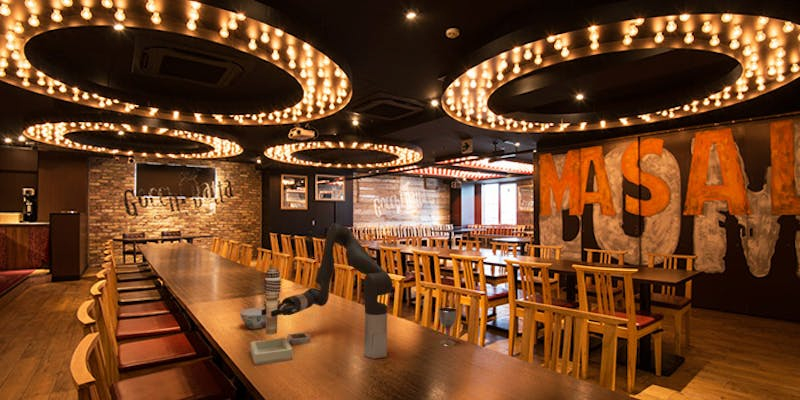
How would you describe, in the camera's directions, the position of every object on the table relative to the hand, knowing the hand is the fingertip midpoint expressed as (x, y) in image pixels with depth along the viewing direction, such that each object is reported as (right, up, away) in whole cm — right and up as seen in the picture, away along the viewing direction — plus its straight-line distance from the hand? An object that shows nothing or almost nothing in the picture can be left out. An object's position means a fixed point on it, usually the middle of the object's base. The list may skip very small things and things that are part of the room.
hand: (267, 313), depth 158 cm
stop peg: (+1, -9, +2) cm, 9 cm away
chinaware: (-19, -19, +41) cm, 49 cm away
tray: (+1, -18, +2) cm, 18 cm away
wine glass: (+74, -19, +20) cm, 79 cm away
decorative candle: (-20, -19, +66) cm, 72 cm away
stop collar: (+7, -18, +21) cm, 28 cm away
